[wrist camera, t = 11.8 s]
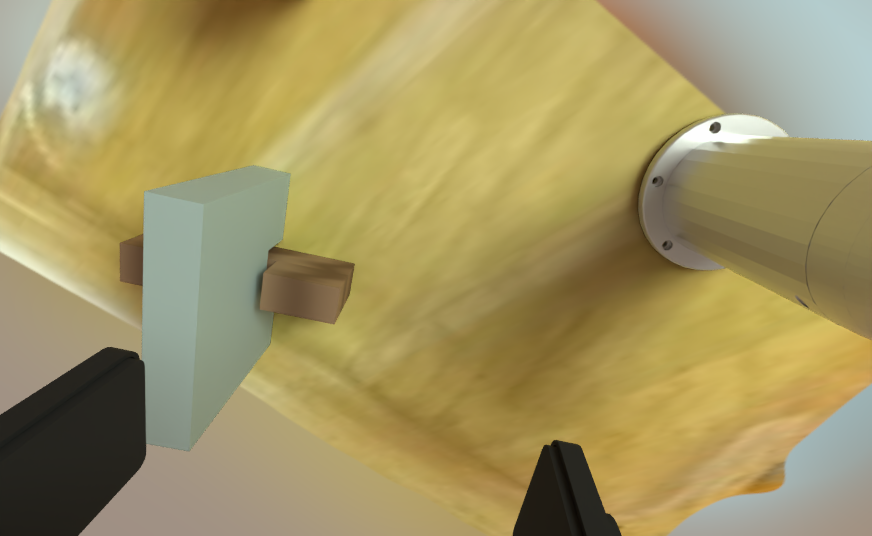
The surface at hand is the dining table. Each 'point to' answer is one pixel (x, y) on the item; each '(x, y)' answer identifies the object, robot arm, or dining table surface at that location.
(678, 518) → the dining table surface
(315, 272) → the brown long block
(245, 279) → the cross plate
